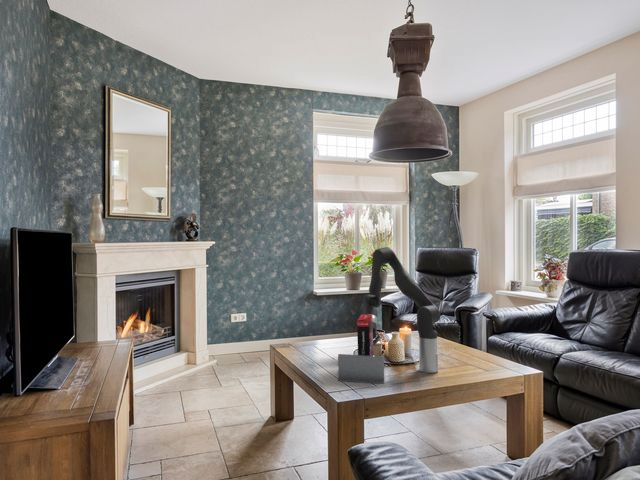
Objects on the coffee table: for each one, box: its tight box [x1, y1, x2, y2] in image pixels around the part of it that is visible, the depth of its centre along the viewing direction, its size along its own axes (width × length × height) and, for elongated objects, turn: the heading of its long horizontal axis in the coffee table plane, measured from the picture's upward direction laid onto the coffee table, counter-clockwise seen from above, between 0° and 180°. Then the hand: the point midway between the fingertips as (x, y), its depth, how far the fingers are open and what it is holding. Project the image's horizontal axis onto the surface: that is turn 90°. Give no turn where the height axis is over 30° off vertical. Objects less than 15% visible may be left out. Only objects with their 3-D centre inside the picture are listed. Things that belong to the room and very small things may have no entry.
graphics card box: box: [356, 314, 374, 356], centre depth 244 cm, size 17×7×27 cm, turn 168°
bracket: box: [336, 353, 385, 385], centre depth 228 cm, size 22×14×12 cm, turn 78°
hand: (368, 350), depth 254 cm, fingers closed
